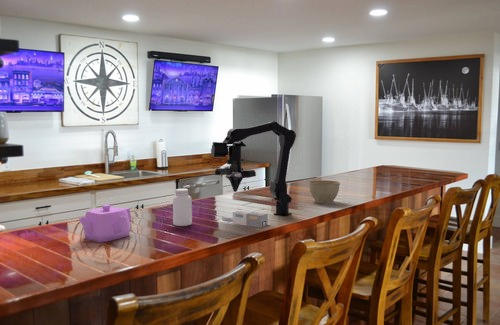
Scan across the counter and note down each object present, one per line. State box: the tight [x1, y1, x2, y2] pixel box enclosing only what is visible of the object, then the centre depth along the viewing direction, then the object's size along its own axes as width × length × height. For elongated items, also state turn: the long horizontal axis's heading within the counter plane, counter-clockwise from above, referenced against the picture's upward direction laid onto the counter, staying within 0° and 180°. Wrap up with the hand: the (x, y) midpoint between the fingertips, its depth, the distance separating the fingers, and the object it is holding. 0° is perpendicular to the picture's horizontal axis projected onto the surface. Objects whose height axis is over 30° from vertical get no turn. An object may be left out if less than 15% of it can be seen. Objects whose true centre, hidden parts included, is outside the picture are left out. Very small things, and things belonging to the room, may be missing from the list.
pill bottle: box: [172, 188, 193, 227], centre depth 206 cm, size 8×8×15 cm
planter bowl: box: [308, 179, 341, 204], centre depth 256 cm, size 16×16×11 cm
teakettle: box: [78, 204, 132, 243], centre depth 186 cm, size 17×17×12 cm
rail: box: [217, 215, 270, 228], centre depth 208 cm, size 8×22×2 cm, turn 57°
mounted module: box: [246, 211, 269, 228], centre depth 204 cm, size 6×7×5 cm
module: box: [232, 209, 252, 226], centre depth 208 cm, size 6×7×5 cm
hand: (235, 191), depth 218 cm, fingers closed
